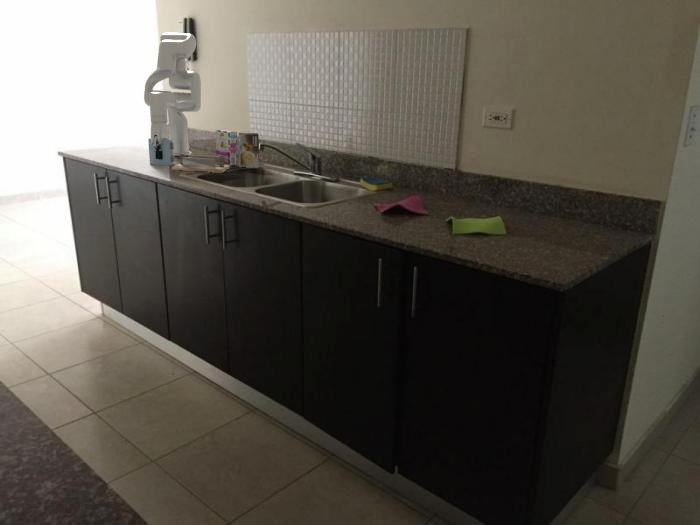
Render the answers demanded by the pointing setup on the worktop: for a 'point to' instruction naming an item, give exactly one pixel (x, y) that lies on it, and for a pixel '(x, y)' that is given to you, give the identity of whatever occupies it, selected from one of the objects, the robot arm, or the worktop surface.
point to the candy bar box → (227, 146)
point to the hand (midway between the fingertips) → (161, 158)
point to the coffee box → (249, 150)
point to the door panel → (166, 151)
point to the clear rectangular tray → (202, 163)
